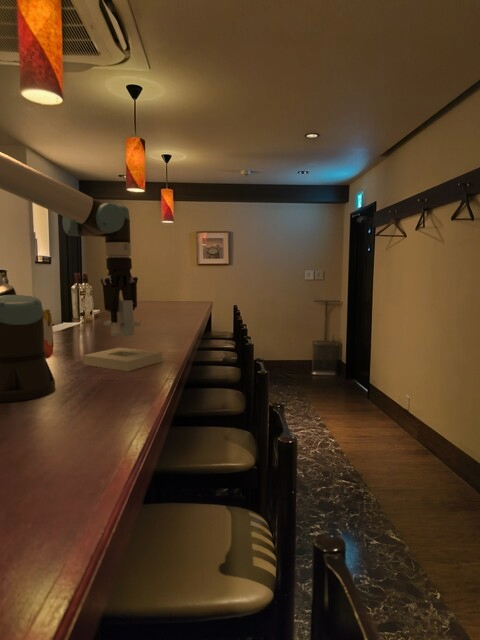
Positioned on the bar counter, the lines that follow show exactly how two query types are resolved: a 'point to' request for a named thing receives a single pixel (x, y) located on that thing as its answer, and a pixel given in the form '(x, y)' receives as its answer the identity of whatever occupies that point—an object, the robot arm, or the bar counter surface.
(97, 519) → the bar counter surface
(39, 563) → the bar counter surface
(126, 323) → the servo
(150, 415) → the bar counter surface
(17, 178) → the robot arm
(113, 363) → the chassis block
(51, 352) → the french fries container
